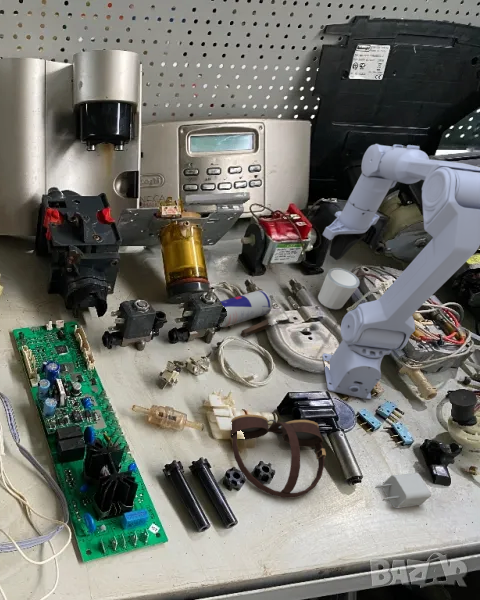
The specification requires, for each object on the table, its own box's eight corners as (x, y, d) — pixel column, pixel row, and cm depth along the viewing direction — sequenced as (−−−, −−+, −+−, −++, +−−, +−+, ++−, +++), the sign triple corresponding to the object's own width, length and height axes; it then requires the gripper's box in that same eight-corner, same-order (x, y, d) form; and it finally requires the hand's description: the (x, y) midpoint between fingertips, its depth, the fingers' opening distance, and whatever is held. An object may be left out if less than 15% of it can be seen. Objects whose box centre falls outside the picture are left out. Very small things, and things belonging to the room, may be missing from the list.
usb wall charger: (419, 506, 84) (432, 494, 81) (380, 511, 83) (393, 499, 80) (404, 483, 87) (416, 470, 84) (366, 487, 86) (378, 475, 83)
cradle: (258, 293, 119) (261, 288, 118) (287, 319, 113) (290, 314, 112) (215, 310, 113) (216, 305, 112) (243, 338, 108) (245, 333, 107)
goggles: (309, 430, 92) (336, 408, 84) (322, 507, 85) (353, 492, 77) (223, 421, 92) (241, 398, 84) (228, 498, 85) (249, 482, 77)
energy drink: (260, 284, 112) (215, 297, 108) (276, 302, 109) (230, 316, 105) (251, 301, 116) (207, 314, 112) (266, 318, 113) (221, 333, 109)
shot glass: (308, 294, 120) (320, 270, 115) (330, 287, 122) (343, 264, 118) (330, 314, 116) (343, 290, 111) (352, 307, 118) (366, 283, 113)
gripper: (370, 186, 110) (342, 238, 119) (323, 200, 104) (297, 254, 113) (399, 203, 106) (367, 256, 115) (351, 219, 100) (322, 273, 109)
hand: (334, 256), depth 114 cm, fingers closed
